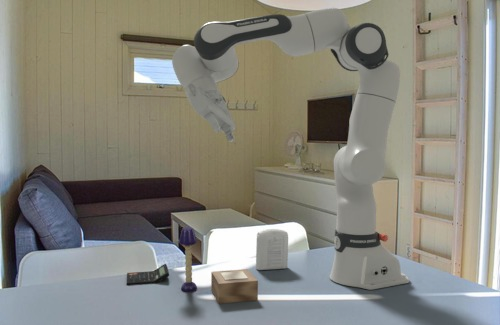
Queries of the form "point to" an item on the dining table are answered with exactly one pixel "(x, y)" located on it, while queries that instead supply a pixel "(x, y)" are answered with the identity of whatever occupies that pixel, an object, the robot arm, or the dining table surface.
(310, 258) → the dining table surface
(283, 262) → the white upright block
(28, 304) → the dining table surface
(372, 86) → the robot arm
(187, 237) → the toy lamp
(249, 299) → the cardboard box
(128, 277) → the calculator
